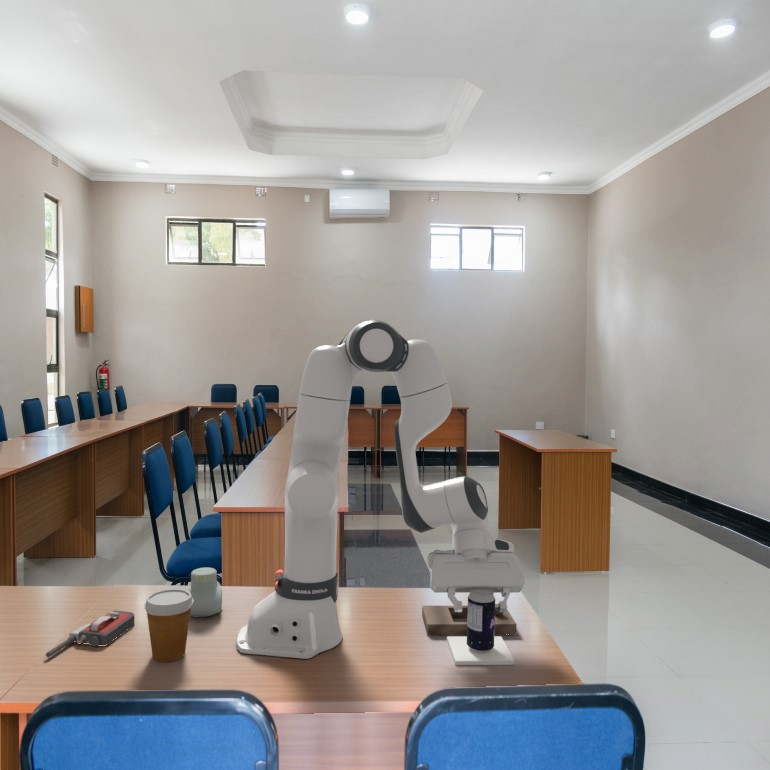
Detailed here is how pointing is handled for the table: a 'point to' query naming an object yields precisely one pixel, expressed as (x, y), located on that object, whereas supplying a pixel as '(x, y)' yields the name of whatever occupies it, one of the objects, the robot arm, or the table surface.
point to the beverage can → (481, 620)
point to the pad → (469, 657)
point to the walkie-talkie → (99, 630)
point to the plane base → (442, 622)
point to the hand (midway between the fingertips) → (481, 611)
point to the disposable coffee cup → (168, 623)
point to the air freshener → (205, 592)
